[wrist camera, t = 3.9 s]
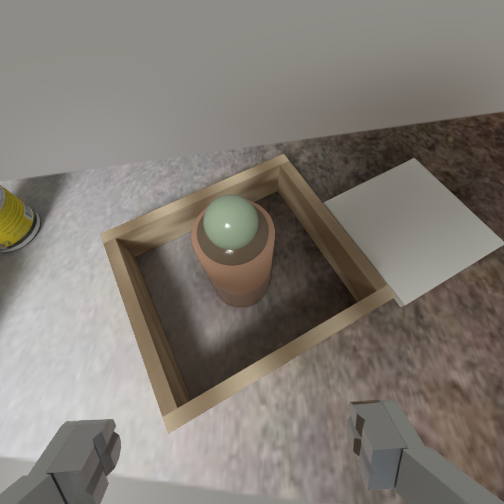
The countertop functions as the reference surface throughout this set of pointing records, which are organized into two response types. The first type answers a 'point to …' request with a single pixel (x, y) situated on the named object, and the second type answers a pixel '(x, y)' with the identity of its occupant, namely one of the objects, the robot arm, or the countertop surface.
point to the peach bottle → (235, 248)
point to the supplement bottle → (16, 222)
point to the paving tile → (412, 229)
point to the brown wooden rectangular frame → (181, 222)
